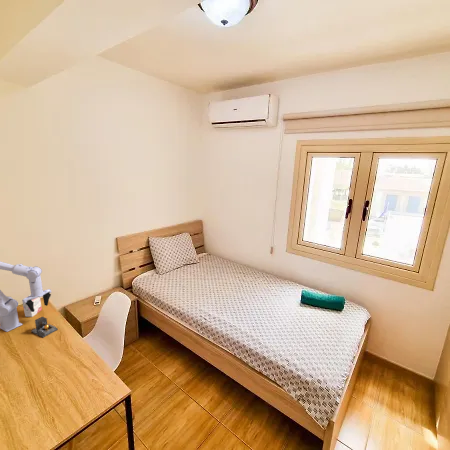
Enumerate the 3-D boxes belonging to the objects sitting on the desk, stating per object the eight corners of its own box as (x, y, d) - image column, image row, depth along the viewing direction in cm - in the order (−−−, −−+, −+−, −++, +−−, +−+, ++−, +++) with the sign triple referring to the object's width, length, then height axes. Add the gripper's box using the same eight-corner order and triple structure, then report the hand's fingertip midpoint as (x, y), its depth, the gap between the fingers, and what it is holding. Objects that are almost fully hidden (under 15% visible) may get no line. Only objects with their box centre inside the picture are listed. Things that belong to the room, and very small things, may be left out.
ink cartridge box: (34, 309, 165) (31, 289, 162) (42, 309, 165) (39, 289, 162) (24, 317, 157) (20, 295, 154) (32, 317, 157) (28, 295, 154)
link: (34, 330, 142) (32, 321, 141) (45, 324, 148) (44, 315, 146) (44, 335, 138) (43, 325, 137) (55, 329, 144) (54, 320, 142)
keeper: (31, 332, 142) (30, 325, 141) (46, 324, 149) (45, 318, 148) (43, 337, 138) (41, 330, 137) (57, 329, 145) (56, 322, 144)
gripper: (26, 294, 138) (29, 315, 141) (53, 283, 151) (55, 304, 154) (19, 291, 141) (22, 312, 144) (46, 281, 154) (49, 301, 157)
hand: (39, 308), depth 149 cm, fingers open, 7 cm apart
